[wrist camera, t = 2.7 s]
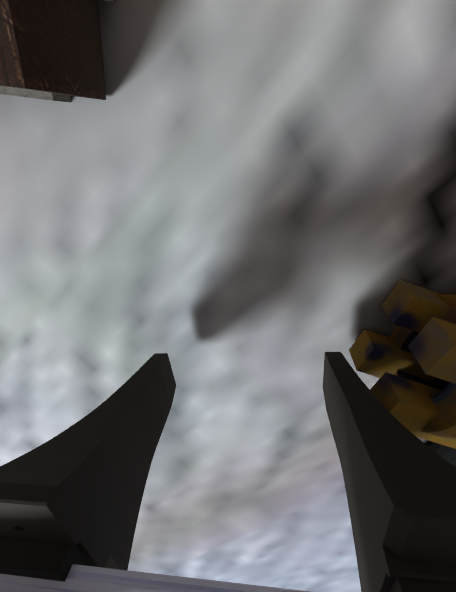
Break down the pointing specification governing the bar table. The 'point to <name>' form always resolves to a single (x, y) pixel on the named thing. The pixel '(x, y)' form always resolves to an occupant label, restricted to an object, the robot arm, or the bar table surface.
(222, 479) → the bar table surface
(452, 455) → the pipe connector
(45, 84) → the book
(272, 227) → the bar table surface
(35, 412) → the bar table surface
